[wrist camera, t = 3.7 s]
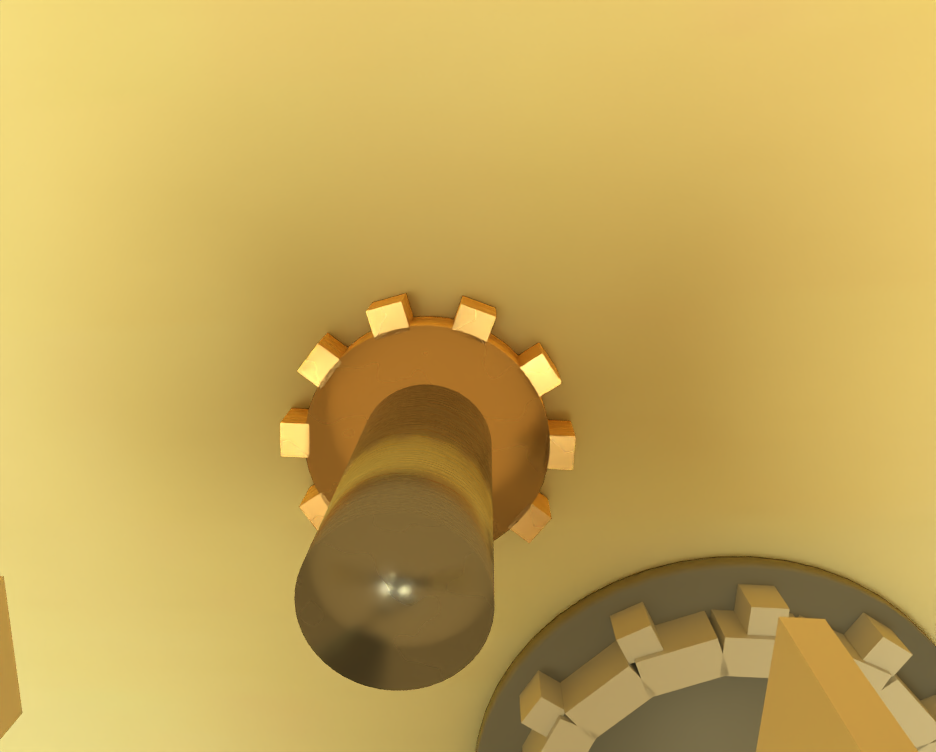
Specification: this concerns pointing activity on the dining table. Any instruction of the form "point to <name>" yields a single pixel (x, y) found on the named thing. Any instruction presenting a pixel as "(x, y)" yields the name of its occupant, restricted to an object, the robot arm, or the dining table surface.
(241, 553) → the dining table surface
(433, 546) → the sun gear
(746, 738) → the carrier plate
